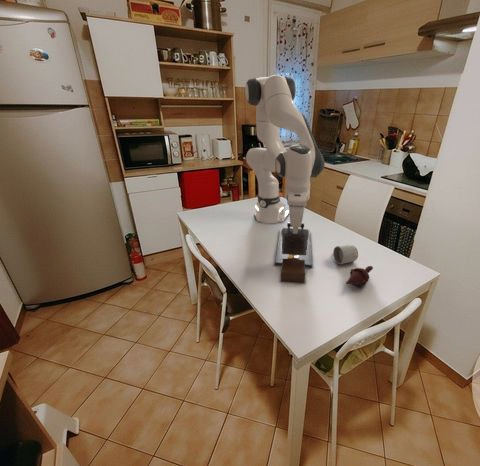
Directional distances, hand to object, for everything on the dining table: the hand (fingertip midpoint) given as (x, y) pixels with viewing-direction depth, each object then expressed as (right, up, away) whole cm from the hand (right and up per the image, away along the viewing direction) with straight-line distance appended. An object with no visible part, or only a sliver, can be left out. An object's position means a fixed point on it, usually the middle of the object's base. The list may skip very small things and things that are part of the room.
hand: (295, 227), depth 101 cm
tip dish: (0, -6, +2) cm, 6 cm away
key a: (0, -11, +15) cm, 19 cm away
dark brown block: (-1, -19, +3) cm, 19 cm away
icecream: (+24, -22, -1) cm, 32 cm away
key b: (0, -12, +15) cm, 19 cm away
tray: (+1, -9, +22) cm, 24 cm away
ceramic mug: (+22, -14, +13) cm, 29 cm away
